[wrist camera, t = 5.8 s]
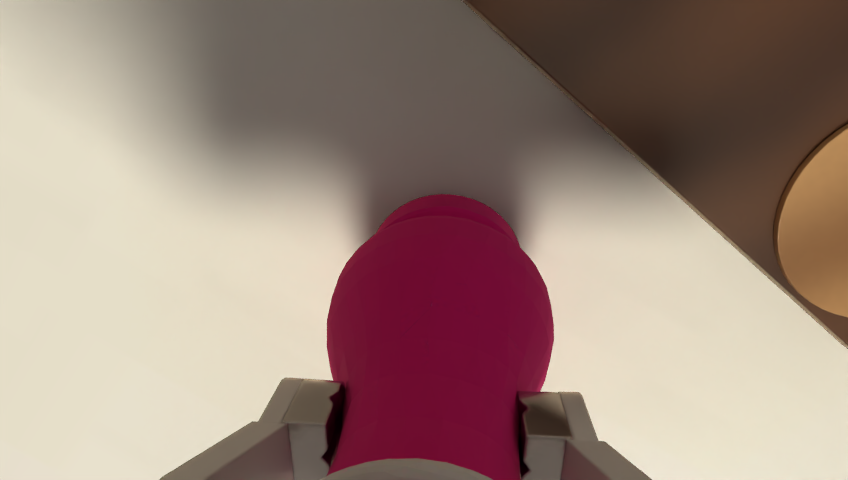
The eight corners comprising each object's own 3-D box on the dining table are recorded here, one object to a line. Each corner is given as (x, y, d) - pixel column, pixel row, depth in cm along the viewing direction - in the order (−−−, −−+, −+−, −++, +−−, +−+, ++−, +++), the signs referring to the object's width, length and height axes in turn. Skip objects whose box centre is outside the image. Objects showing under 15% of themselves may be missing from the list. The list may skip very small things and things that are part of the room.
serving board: (439, -19, 17) (436, -28, 16) (717, -402, 13) (752, -469, 12) (840, 343, 20) (873, 368, 19) (1156, 118, 17) (1233, 125, 15)
